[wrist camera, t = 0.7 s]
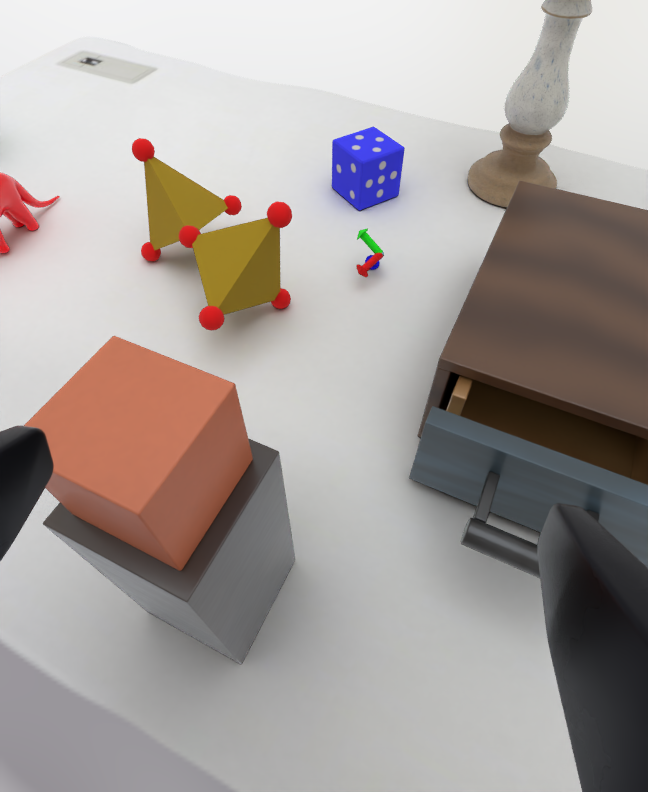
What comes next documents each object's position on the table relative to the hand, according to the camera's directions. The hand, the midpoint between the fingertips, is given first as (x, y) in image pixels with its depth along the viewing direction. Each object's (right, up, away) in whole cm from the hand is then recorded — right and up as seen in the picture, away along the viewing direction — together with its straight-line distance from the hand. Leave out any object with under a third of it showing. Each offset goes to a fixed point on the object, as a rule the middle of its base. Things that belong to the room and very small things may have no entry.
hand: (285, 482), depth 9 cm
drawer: (+15, -1, +24) cm, 28 cm away
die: (+5, +22, +42) cm, 48 cm away
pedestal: (-5, -9, +19) cm, 22 cm away
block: (-5, -2, +9) cm, 11 cm away
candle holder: (+20, +23, +43) cm, 53 cm away
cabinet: (+18, +3, +28) cm, 33 cm away
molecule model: (-6, +12, +35) cm, 38 cm away
